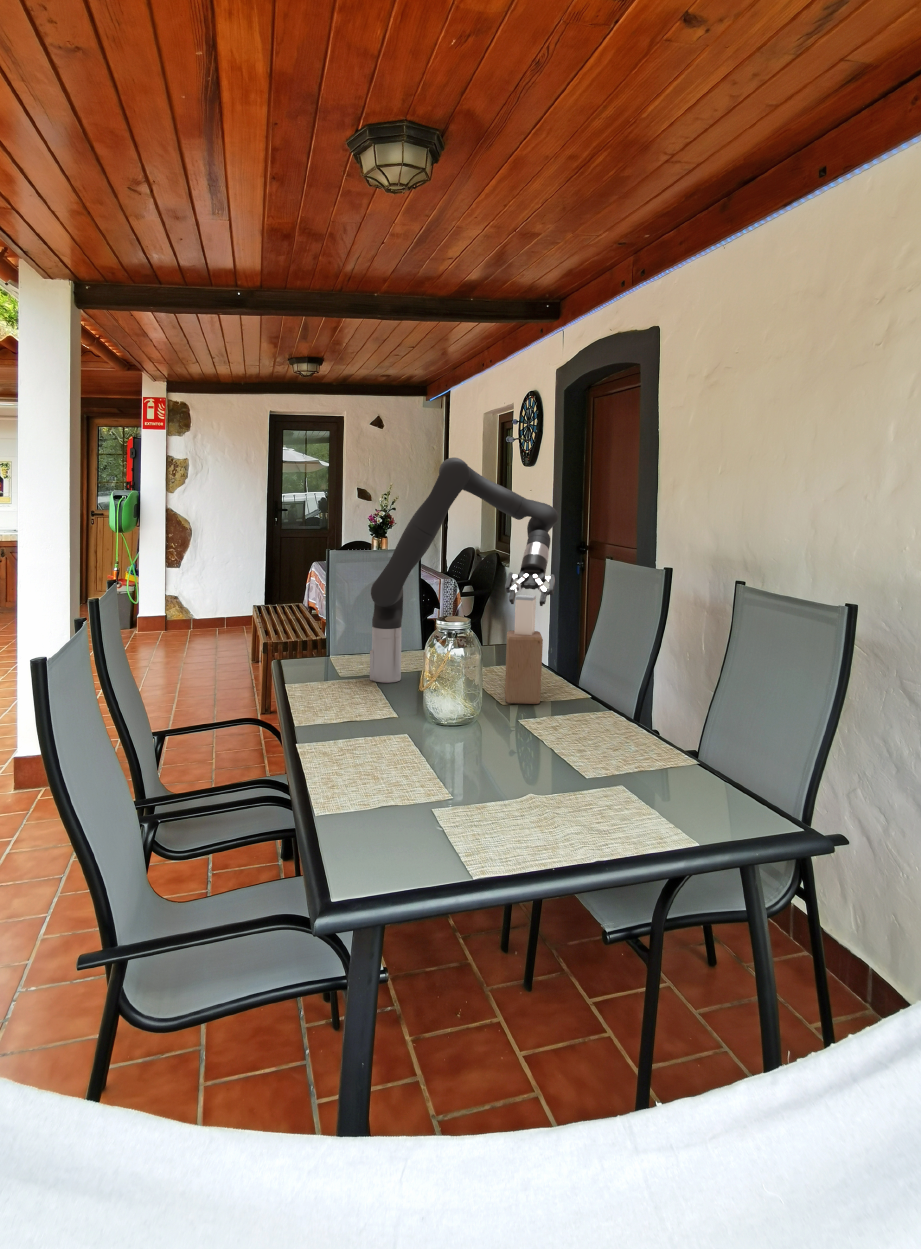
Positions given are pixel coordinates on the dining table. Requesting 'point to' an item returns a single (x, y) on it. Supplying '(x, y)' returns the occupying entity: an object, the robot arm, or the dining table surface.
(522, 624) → the beige upright block
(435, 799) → the dining table surface
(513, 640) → the wooden block
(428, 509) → the robot arm
